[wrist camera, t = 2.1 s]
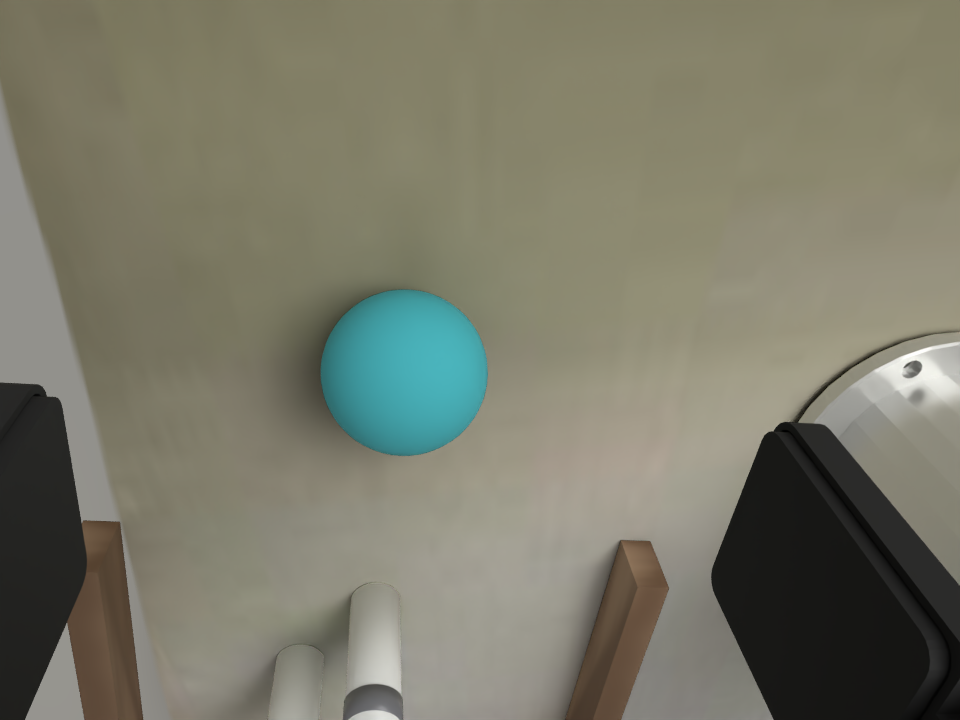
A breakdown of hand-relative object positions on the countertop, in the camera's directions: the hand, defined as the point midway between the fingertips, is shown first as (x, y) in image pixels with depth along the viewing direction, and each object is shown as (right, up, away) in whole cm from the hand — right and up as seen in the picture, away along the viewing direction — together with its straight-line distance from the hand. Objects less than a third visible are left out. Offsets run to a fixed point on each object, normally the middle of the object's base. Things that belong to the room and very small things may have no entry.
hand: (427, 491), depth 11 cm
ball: (-2, +1, +18) cm, 18 cm away
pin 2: (-4, -10, +28) cm, 30 cm away
